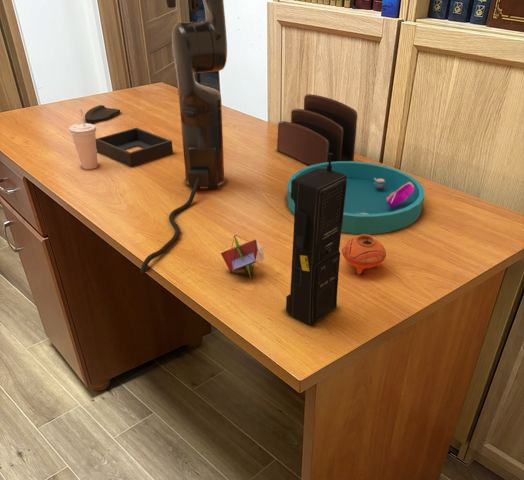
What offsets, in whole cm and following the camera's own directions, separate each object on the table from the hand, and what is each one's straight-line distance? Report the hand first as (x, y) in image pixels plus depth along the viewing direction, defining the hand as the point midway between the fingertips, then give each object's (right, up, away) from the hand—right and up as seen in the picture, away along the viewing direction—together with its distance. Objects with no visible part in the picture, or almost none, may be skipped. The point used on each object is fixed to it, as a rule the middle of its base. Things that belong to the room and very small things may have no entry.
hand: (183, 9), depth 131 cm
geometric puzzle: (+16, -70, -33) cm, 79 cm away
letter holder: (+33, -33, +11) cm, 48 cm away
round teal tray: (+40, -51, -10) cm, 65 cm away
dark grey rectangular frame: (-15, -31, +13) cm, 36 cm away
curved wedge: (-32, -10, +37) cm, 50 cm away
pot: (+38, -69, -32) cm, 85 cm away
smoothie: (-24, -37, +5) cm, 45 cm away
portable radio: (+27, -78, -43) cm, 93 cm away
